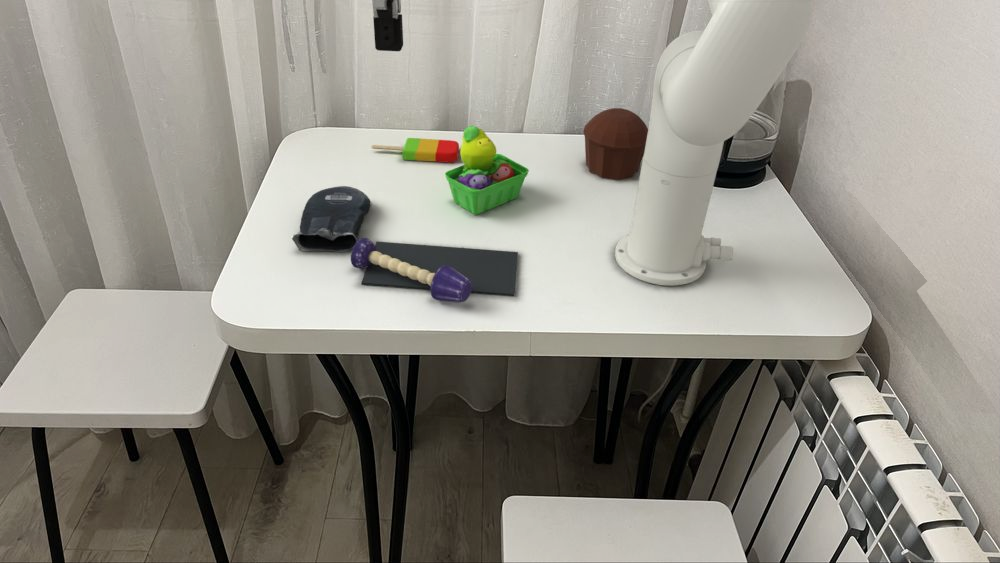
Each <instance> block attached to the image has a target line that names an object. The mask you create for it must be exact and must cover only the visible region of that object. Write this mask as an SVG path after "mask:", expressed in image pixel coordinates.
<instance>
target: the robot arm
mask: <svg viewBox="0 0 1000 563" xmlns="http://www.w3.org/2000/svg"><path fill="white" fill-rule="evenodd" d="M371 1H372V11H373V18H372V19H373V32H374V33H373V34H374V36H373V37H374V48H375V50H376V51H378V52H379V51H380V52H401V51H402V49H403V47H404V29H403V13H401V12H402V0H371ZM707 4H708V7H709V12H710V13H711V17H710V19H709V22H708V23H707V25H706V27H705V29H703V30H701V29H700V30H692V31H691V30H690V31H687V32H685V33H682V34H681V35H679V36H677V37H676V38H675V39H673V40H672V41H671V42H670V43H669V44H668V45H667V46H666V47H665V49H664V50H663V51H662V53H661V55H660V57H659V60H658V62H657V65H656V69H655V73H654V74H655V75H654V79H653V88H652V97H651V98H652V99H651V107H650V114H649V115H650V116H649V122H648V127H647V128H648V134H647V140H646V146H645V151H644V156H643V158H642V161H641V167H640V173H639V178H638V186H637V190H636V195H635V202H634V207H633V212H632V218H631V225H630V230H629V234H627V235H624V236H623V237H622V238H620V239H619V241H618V242H617V243H616V247H615V250H614V258H615V260H616V263H617V264H618V266H619V267H620V268H621V269H622V270H623V271H624V272H626V273H627V274H628V275H630V276H632V277H633V278H635V279H638V280H640V281H642V282H645V283H649V284H652V285H657V286H667V287H669V286H670V287H671V286H672V287H673V286H682V285H686V284H691V283H692V282H695V281H696V280H698V279H699V278H701V277H702V276H703V275H704V272H705V270H706V266H707V262H709V260H710V259H715V260H721V261H732V260H733V259H734V258H733V257H734V253H735V252H734V247H733V246H731V245H730V246H729V245H722V240H721V237H705V236H704V235H703V230H704V226H705V221H706V218H707V214H708V210H709V204H710V201H711V197H712V193H713V189H714V185H715V180H716V177H717V172H718V169H719V165H720V161H721V158H722V153H723V148H724V145H725V144H724V143H725V141H727V140H728V139H730V138H732V137H733V136H735V135H736V134H737V133H738V132H739V131H740V130H741V129H742V128H743V127H744V126H745V125H746V124H747V123H748V121H749V120H750V119H751V118H752V116H753V115H754V114H755V112H756V111H757V110H758V108H759V106H761V104H762V102H763V101H764V99H765V98H766V97H767V95H768V93H769V92H770V90H771V89H772V88H773V86H774V85H775V83H776V81H777V80H778V78H780V75H781V74H782V73H783V71H784V70H785V68H786V67H787V65H788V64H789V62H790V60H791V59H792V58H793V56H794V55H795V53H796V51H797V50H798V48H799V47H800V45H801V44H802V42H803V40H804V38H805V37H806V34H807V31H808V29H809V26H810V23H811V20H812V16H813V12H814V0H707Z"/></svg>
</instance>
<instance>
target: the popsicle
mask: <svg viewBox="0 0 1000 563" xmlns="http://www.w3.org/2000/svg"><path fill="white" fill-rule="evenodd" d="M370 148H371V149H372V150H385V151H387V150H388V151H401V153H402V154H401V156H402V157H401V158H402V160H404V161H418V162H419V161H420V162H433V163H435V162H436V163H437V162H438V163H455V162H456V161H458V158H459V152H460V144H459V142H458V141H456V140H450V139H434V138H433V139H432V138H417V137H407V138H406V140H405V143H404V146H397V145H383V144H382V145H379V144H372V145H371V146H370Z"/></svg>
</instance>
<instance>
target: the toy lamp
mask: <svg viewBox="0 0 1000 563" xmlns="http://www.w3.org/2000/svg"><path fill="white" fill-rule="evenodd" d="M350 263H351V265H352V267H353V268H356V269H366V268H367V267H368V266H369V265H370V264H371V263H373V264H375V265H380V266H381V267H383V268H386V269H389V270H390V271H392V272H398V273H399V274H400V275H402V276H408V277H409V278H411V279H413V280H418V281H419V282H421V283H424V284H427V283H428V285H430V286H431V288H430V290H429V293H430V296H431V298H432V299H434V300H436V301H441V302H450V303H451V302H452V303H464V302H466V301H467V300H468V299H469V297H470V296H471V294H472V293H471V290H472V283H471V281H470V280H469V279H468V278H466V277H465V276H463V275H462V274H461V273H459V272H458V271H457V270H455V269H454V268H452V267H451V266H449V265H443V266H441V267H440V268H439V269H438V270H437V272H436V273H430V272H429V271H428V270H424V269H422V270H421V269H420V268H419V267H417V266H411V265H410V264H408V263H406V262H401V261H400V260H399V259H396V258H391V257H390V256H388V255H382V254H381V253H380V252H377V251H376V247H375V243H374V241H372V240H371V239H370V238H368V237H360V238H359V239H357V243H356V244H355V245H354V247H353V248H351V253H350Z"/></svg>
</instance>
